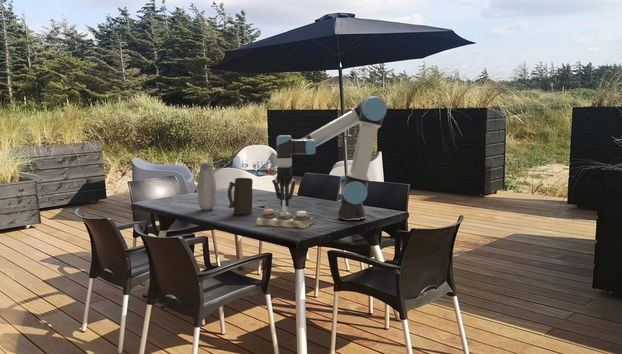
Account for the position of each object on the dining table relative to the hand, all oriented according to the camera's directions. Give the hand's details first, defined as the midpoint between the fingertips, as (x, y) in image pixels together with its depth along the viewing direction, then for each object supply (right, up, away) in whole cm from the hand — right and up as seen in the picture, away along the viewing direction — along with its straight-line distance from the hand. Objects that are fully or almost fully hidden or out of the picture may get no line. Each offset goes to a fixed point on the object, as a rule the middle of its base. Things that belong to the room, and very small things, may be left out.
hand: (284, 212), depth 260 cm
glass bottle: (-48, -1, +42) cm, 64 cm away
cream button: (+9, -1, -3) cm, 9 cm away
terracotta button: (-8, -1, +3) cm, 9 cm away
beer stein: (-26, -3, +28) cm, 38 cm away
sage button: (0, -2, 0) cm, 2 cm away
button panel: (0, -6, +1) cm, 6 cm away
